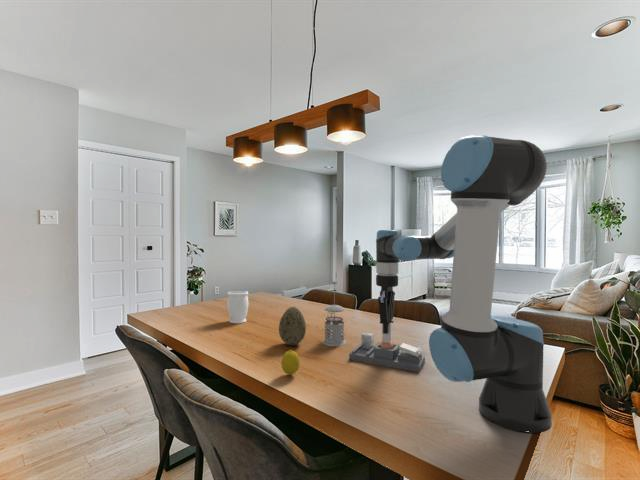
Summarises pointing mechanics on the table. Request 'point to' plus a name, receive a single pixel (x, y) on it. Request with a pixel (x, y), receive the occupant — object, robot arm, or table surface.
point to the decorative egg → (292, 326)
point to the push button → (386, 345)
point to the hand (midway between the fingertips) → (386, 341)
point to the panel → (388, 357)
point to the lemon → (290, 362)
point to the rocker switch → (410, 349)
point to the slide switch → (367, 340)
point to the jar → (237, 306)
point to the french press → (334, 325)
